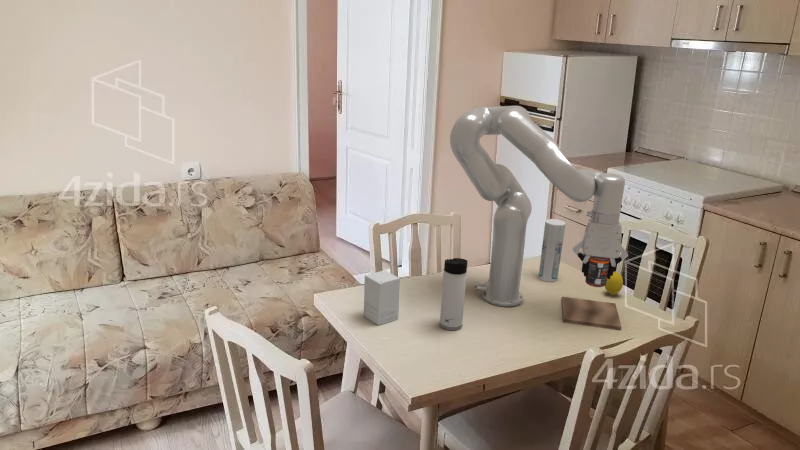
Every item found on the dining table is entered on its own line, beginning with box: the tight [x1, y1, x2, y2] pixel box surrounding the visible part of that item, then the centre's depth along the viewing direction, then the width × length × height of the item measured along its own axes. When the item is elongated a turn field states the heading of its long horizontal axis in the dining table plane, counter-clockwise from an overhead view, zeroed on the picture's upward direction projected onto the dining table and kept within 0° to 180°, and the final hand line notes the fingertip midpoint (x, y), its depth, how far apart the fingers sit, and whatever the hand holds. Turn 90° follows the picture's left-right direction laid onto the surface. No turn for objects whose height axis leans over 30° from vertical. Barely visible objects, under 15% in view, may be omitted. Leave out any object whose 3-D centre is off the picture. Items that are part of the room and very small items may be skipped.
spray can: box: [538, 218, 567, 283], centre depth 212 cm, size 6×6×20 cm
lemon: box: [604, 271, 624, 296], centre depth 203 cm, size 6×6×8 cm
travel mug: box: [439, 257, 469, 331], centre depth 175 cm, size 6×7×20 cm
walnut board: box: [561, 296, 622, 331], centre depth 190 cm, size 16×16×1 cm
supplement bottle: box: [585, 256, 610, 288], centre depth 185 cm, size 6×6×11 cm
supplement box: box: [363, 270, 401, 326], centre depth 179 cm, size 7×7×13 cm
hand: (596, 275), depth 186 cm, fingers closed on supplement bottle, 6 cm apart
